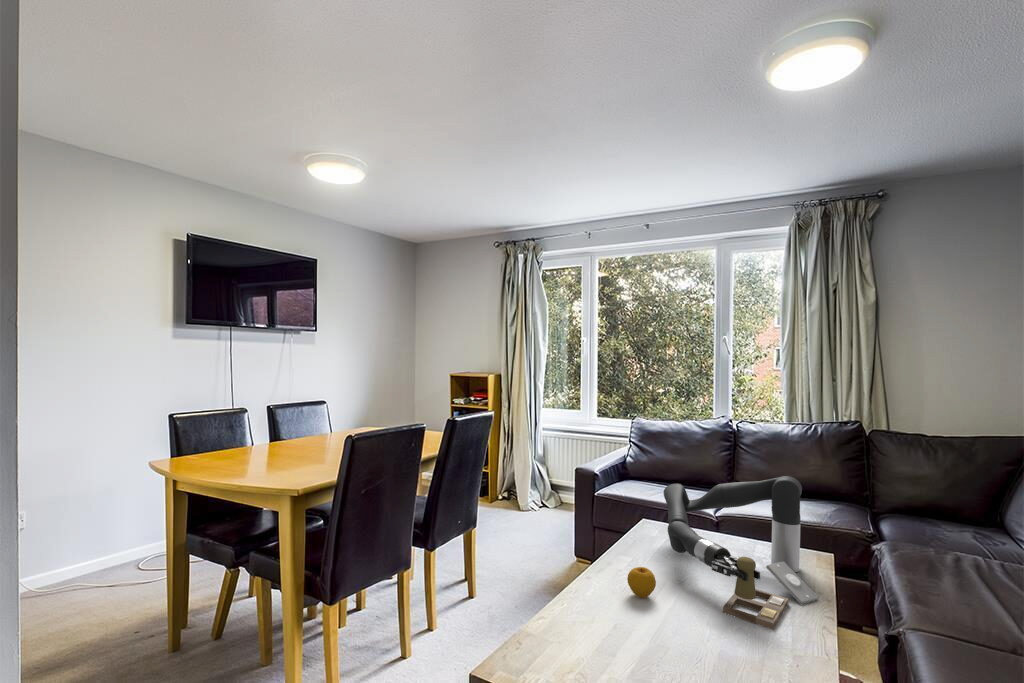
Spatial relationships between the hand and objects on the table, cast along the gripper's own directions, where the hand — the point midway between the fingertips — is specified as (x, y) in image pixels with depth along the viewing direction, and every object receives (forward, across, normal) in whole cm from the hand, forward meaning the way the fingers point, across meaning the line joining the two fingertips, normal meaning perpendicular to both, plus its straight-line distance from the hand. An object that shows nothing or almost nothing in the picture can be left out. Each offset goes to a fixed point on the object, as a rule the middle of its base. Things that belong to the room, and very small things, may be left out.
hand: (753, 576), depth 154 cm
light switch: (-8, -25, -12) cm, 29 cm away
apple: (-21, +24, -12) cm, 34 cm away
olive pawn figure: (-3, 0, -7) cm, 7 cm away
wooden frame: (-4, -6, -12) cm, 14 cm away
